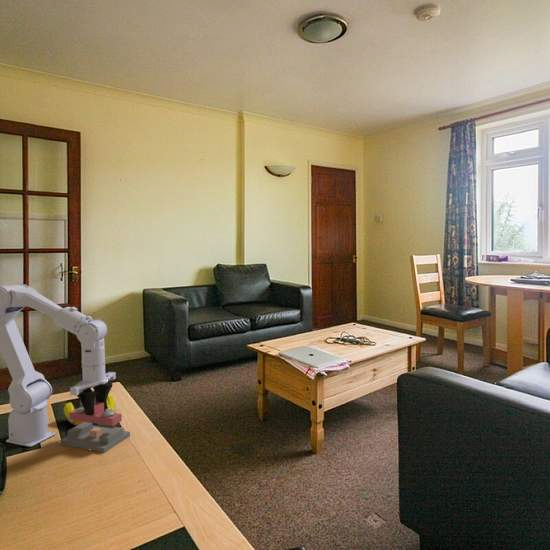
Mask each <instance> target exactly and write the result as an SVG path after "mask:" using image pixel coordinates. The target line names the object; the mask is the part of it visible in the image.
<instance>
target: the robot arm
mask: <svg viewBox="0 0 550 550" xmlns="http://www.w3.org/2000/svg"><path fill="white" fill-rule="evenodd" d="M26 307H29V308H32V309H33V310H36V311H38V312H39V313H42V314H44V315H46V316H49V317H51V318H53V319H54V321H55V324H56V325H57V326H59V328H60V327H61V328H63V329H64V330H66V331H68V332H70V333H71V334H74V335H75V336H76V338H77V340H78V341H79V342H80V347H81V362H82V363H81V364H82V366H81V367H82V369H81V370H82V379H81V381H79V382H78V383H76V384H74V385H73V386H70V387H69V391H70V392H69V393H70V395H71V396H77V398H78V399H79V401H80V403H81V404H82V407H84V410H85V414H86V415H90V416H92V415H93V414H94V402H95V401H96V402H103V403H104V408H105V404H106V400H107V397H108V395H110V394H109V393H110V391H111V389H112V387H113V382H109V381H113V380H115V379H117V378H116V375H117V373H116V372H115V371H108V372H107V373H106V348H105V337H106V336H107V335H108V332H109V328H108V325H107V323H106V322H105V321H103V320H102V319H101V318H95V319H93V317H92V316H91V315H86V314H84V313H82V312H80V311H78V308H77V307H76V306H65V307H63V306H60V305H58V304H57V303H55V302H54V301H52V300H50V299H49V298H47V297H45V296H44V295H42V294H40V293H39V292H38V291H36V288H33V287H31V286H30V287H29V285H28V284H24V283H18V284H11V285H0V352H1V354H2V357H3V359H4V361H5V364H6V366H7V369H8V372H9V374H10V376H11V379H12V380H11V382H10V384H9V386H8V389H7V391H8V394H9V405H10V407H11V409H12V410H11V411H10V413H9V415H8V420H7V421H8V422H7V423H8V439H6V440H5V442H6V443H10V444H14V445H19V446H24V447H29V448H31V447H33V446H36V445H38V444H39V443H41V442H44V441H45V440H47V439H49V438H51V437H54V436H55V435H56V432H54V431H48V429H49V428H48V427H49V426H48V424H49V423H48V402H49V399H50V398H51V396H52V395H53V387H52V385H51V384H50V383H49V381H47V379H45V375H44V374H42V373H41V372H39V371H36V370H35V367H34V365H33V363H32V360H31V358H30V355H29V353H28V351H27V347H26V345H25V343H24V340H23V338H22V336H21V333H20V330H19V329H18V326H17V323H16V321H15V320H16V318H17V316H18V314H19V313H20V312H21V311H22V310H23V309H25V308H26ZM92 388H93V389H92Z"/></svg>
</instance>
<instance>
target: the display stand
mask: <svg viewBox="0 0 550 550" xmlns="http://www.w3.org/2000/svg"><path fill="white" fill-rule="evenodd" d="M130 436H131V431H128V430H124V427H115V426H113V427H112V428H110V427H104V426H96V425H94V423H88V422H83V423H81V424H79V425H78V426H76V425H75V426H74V427H72V428H70V429H68V430H67V435H66V436H65V437H64V438H62V439H60V440H59V441H60V442H59V444H60V445H63V446H67V447H71V448H72V447H73V448H77V447H79V448H78V449H82V448H85V449H84V450H87V449H91V450H90V451H92V450H96V451H95V452H97V451H99V453H102V452H105V453H106V452H109V451H110V450H111V449H113V448H114V447H115V445H116V446H117V445H119V444H121V441H122V442H124V441H125V440H126V439H128V438H130ZM127 437H128V438H127ZM124 439H125V440H124ZM118 443H119V444H118ZM112 447H113V448H112ZM109 449H110V450H109Z"/></svg>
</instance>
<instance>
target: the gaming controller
mask: <svg viewBox="0 0 550 550" xmlns="http://www.w3.org/2000/svg"><path fill="white" fill-rule="evenodd" d="M75 409H77V408H76V407H75V405H74V404H73V403H72V402H66V403H65V404H64V407H63V415H64V417H65V419H66V420H67V422H68V423H70V424H71V425H74V426H75V427H76V426H78V425H79V424H81V423H83V421H77V420H71V419H69V412H71V411H73V410H75ZM115 409H116V399H115V398H114V396H113V395H112V394H108V397H107V400H106V404H105V408H104V411H114V412H115ZM88 423H90V422H88Z"/></svg>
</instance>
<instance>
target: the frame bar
mask: <svg viewBox="0 0 550 550" xmlns="http://www.w3.org/2000/svg"><path fill="white" fill-rule="evenodd" d="M122 414H123V413H118V412H115V411H104V403H103V402H96V400H95V402H94V414H93V415H92V416H90V415H86V414H85V410H84V407H83V406H80V407H78V408H76V409H75V410H73V411H71V412H69V419H71V420H77V421H83V422H90V423H93V424H95V425H96V424H97V425H103V426H108V427H109V426H110V427H115V425H117V424H118V423H121V422H122V418H123V417H122Z"/></svg>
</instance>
